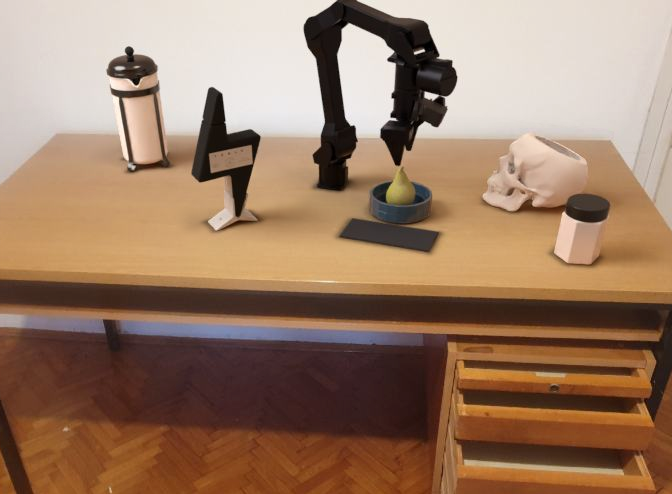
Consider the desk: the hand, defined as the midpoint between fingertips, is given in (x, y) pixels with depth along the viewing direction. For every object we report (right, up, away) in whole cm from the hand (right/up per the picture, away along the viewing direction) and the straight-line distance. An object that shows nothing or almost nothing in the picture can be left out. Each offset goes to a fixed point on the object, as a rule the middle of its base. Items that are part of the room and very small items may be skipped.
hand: (403, 158), depth 157 cm
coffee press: (-66, +9, +36) cm, 75 cm away
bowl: (0, -10, +8) cm, 13 cm away
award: (-39, -13, +5) cm, 41 cm away
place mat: (-3, -18, -2) cm, 18 cm away
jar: (+34, -23, -11) cm, 43 cm away
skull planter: (+31, -8, +9) cm, 34 cm away
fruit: (0, -10, +8) cm, 13 cm away
